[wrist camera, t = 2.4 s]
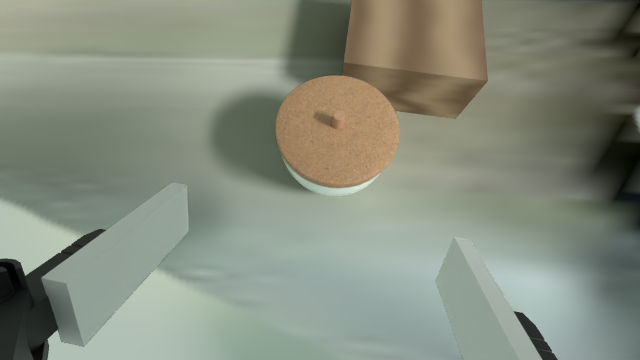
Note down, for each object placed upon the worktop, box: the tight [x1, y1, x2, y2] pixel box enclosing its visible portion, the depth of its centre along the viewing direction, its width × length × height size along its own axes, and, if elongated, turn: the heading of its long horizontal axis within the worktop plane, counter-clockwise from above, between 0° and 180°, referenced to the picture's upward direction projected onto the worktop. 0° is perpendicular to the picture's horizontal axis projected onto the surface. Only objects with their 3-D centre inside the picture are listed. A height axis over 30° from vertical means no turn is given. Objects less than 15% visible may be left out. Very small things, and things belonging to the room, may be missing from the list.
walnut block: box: [342, 0, 488, 119], centre depth 34 cm, size 14×14×7 cm
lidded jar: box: [275, 75, 400, 196], centre depth 28 cm, size 11×11×9 cm
